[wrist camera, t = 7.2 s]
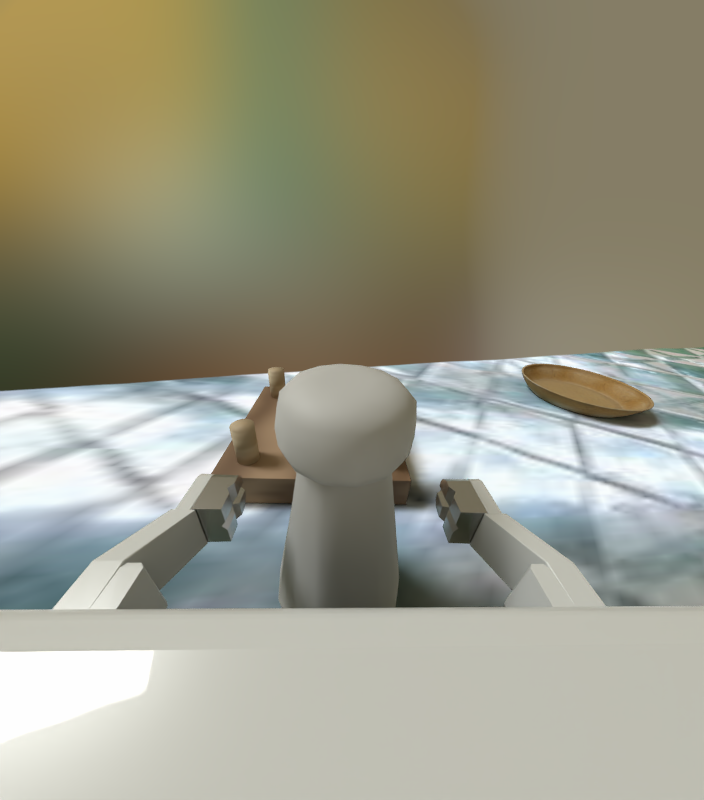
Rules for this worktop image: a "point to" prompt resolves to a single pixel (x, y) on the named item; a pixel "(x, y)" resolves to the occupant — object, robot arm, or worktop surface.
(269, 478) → the peg stand
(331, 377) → the salt shaker
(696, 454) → the worktop surface
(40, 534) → the worktop surface
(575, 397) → the plant saucer
